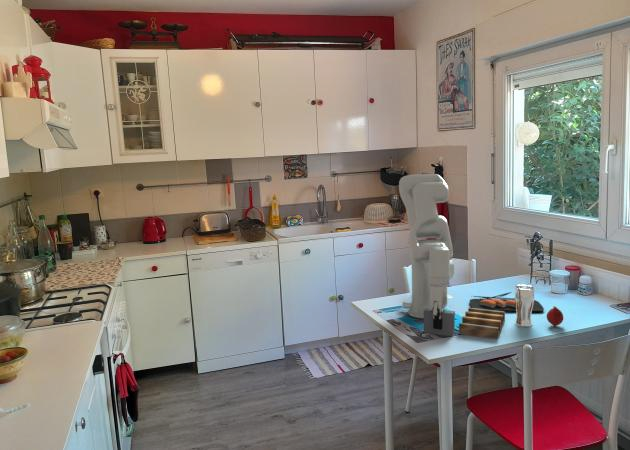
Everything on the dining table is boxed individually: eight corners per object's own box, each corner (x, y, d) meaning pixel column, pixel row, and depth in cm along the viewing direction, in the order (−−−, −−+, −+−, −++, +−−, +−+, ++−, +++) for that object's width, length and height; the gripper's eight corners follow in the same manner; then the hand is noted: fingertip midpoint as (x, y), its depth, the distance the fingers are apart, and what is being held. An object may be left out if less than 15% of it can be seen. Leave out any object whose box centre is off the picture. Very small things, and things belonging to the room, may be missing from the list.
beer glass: (517, 319, 207) (518, 283, 205) (535, 323, 203) (536, 286, 201) (511, 325, 202) (512, 287, 200) (529, 328, 198) (531, 290, 195)
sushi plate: (472, 313, 219) (472, 304, 218) (464, 292, 248) (465, 284, 247) (545, 315, 214) (546, 306, 213) (529, 293, 243) (529, 285, 242)
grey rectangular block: (423, 332, 198) (423, 310, 196) (425, 330, 200) (425, 307, 199) (452, 336, 193) (453, 313, 191) (454, 334, 196) (454, 311, 194)
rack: (458, 333, 195) (458, 322, 195) (468, 316, 213) (468, 306, 212) (497, 339, 189) (498, 327, 188) (504, 321, 207) (505, 310, 206)
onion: (558, 323, 202) (559, 303, 201) (565, 328, 197) (566, 308, 195) (543, 323, 202) (544, 304, 201) (550, 329, 197) (551, 309, 195)
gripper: (434, 273, 202) (434, 318, 205) (423, 284, 188) (423, 333, 191) (454, 275, 199) (453, 321, 202) (444, 286, 184) (443, 336, 187)
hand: (438, 326), depth 196 cm, fingers open, 3 cm apart
